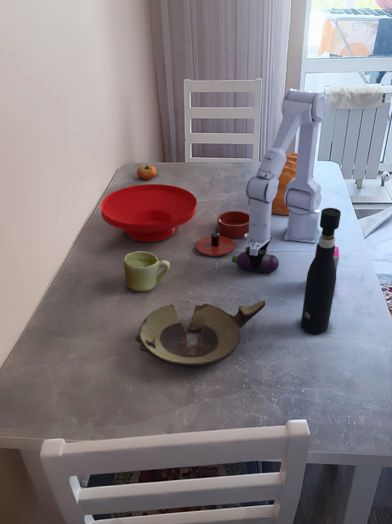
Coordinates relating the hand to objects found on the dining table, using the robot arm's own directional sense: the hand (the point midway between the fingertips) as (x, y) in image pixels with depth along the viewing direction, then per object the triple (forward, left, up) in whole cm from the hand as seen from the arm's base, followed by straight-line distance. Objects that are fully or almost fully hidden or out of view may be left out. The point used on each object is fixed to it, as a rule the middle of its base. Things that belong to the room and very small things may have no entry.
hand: (257, 265), depth 137 cm
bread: (-1, -51, -2) cm, 52 cm away
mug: (+28, +15, -2) cm, 31 cm away
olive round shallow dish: (+6, +36, -2) cm, 36 cm away
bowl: (+39, -15, -2) cm, 41 cm away
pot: (+12, -21, -1) cm, 25 cm away
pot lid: (+15, -9, -1) cm, 18 cm away
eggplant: (0, 0, -1) cm, 1 cm away
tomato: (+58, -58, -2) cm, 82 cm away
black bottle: (-18, +22, -2) cm, 29 cm away
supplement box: (-18, +5, -2) cm, 19 cm away
